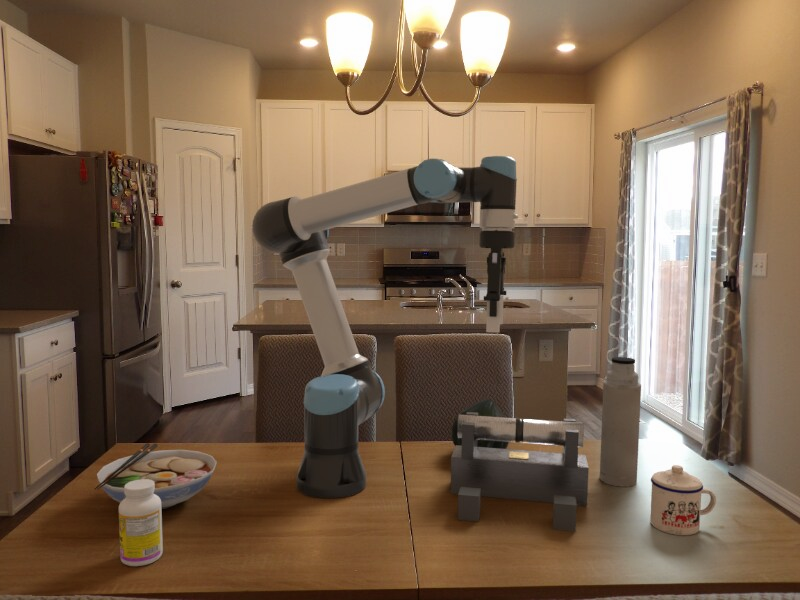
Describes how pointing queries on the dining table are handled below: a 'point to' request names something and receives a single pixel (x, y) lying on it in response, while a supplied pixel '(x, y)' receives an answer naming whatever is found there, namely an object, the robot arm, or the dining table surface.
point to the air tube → (521, 430)
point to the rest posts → (561, 508)
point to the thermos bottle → (620, 424)
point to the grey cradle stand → (520, 470)
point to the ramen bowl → (159, 473)
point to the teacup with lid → (678, 501)
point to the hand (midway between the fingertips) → (494, 328)
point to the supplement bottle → (140, 524)
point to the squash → (483, 409)
